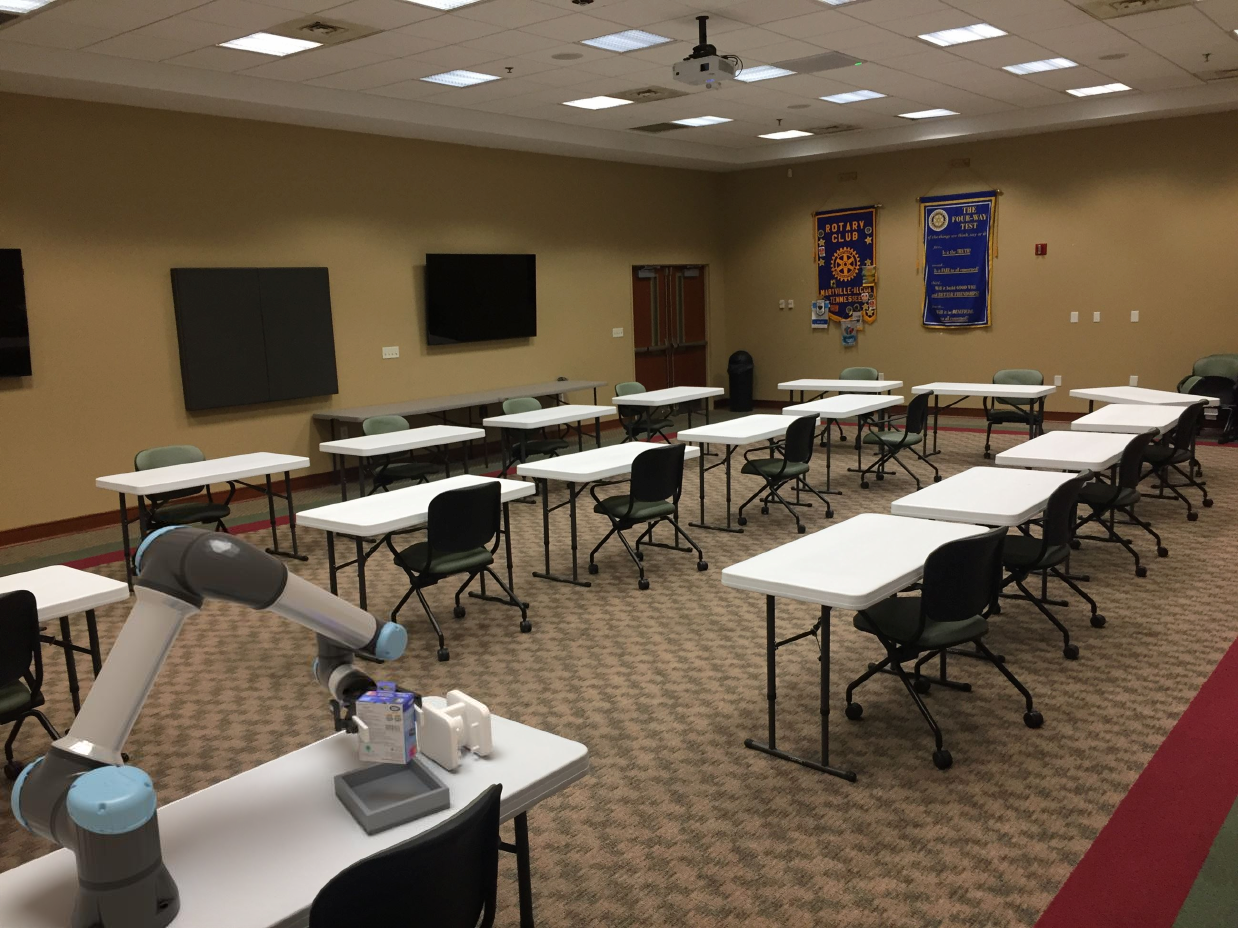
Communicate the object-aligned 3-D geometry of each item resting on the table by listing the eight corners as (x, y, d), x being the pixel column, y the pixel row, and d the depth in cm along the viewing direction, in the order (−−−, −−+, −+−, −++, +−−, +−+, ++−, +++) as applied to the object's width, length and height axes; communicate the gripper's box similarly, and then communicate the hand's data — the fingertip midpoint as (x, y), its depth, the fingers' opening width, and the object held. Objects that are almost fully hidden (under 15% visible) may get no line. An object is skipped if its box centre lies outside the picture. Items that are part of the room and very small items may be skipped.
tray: (368, 836, 170) (367, 815, 169) (335, 794, 185) (333, 775, 184) (450, 807, 179) (449, 787, 178) (412, 770, 194) (411, 751, 193)
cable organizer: (415, 750, 202) (411, 699, 200) (457, 734, 209) (454, 685, 207) (452, 775, 191) (449, 722, 189) (495, 758, 198) (493, 706, 196)
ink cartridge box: (419, 751, 182) (414, 680, 180) (407, 765, 177) (402, 692, 174) (371, 747, 184) (366, 677, 182) (358, 761, 179) (352, 689, 176)
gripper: (406, 690, 201) (452, 728, 183) (299, 720, 188) (336, 763, 170) (404, 657, 199) (449, 691, 181) (295, 685, 187) (333, 725, 169)
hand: (395, 726), depth 176 cm, fingers closed on ink cartridge box, 10 cm apart
